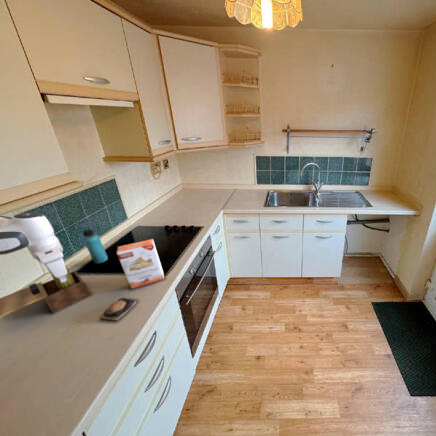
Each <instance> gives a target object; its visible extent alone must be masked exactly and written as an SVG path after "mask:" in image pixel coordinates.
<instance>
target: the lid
mask: <svg viewBox="0 0 436 436" xmlns="http://www.w3.org/2000/svg"><path fill="white" fill-rule="evenodd" d="M42 284H43V283H42V282H41V281H40V282H37V283H36V282H35V283H32V284H30V285H28V286H27V287H25V288H22V289H19V290H17V291H15V292H12V293H9V294H6V295H5V296H2V297H0V318H1V317H4V316H6V315H8V314H10V313H12V312H15V311H17V310H20V309H22V308H24V307H27V306H29V305H31V304H33V303H36V302H38V301H40V300H42V299H43V300H44V298H45V297H47V296H48V295H47V293H46V291H45V289H44V287H43V285H42Z"/></svg>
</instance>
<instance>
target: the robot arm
mask: <svg viewBox="0 0 436 436" xmlns="http://www.w3.org/2000/svg"><path fill="white" fill-rule="evenodd" d="M25 248H27V250H28V251H29V253H30V255H31V256H32V258H33V259H34V260H36V261H38V262H39V263H41V265H44V266H45V267H46V269H47V270H48V271H49V273H50V272H51V273H52V275H53V276H54V277H55V278H59V279H60V281H61V282H62V283H63V282H65V281H67V279H66V277H65V275H67V269H66V267H67V265H66V263H65V261H64V253H63V250H64V247H63V245H62V244H61V241H60V239H59V238H58V237H57V236H56V235H55V230H54V228H53V226H52V223H50V221H49V220H48V218H47V217H46V215H44V214H43V213H40V212H35V211H27V212H20V213H17V214H15V215H13V217H11V216H5V215H1V216H0V255H1V256H2V255H8V254H11V253H14V252H18V251H20V250H23V249H25ZM65 265H66V266H65ZM51 273H50V274H51ZM52 275H51V276H52Z"/></svg>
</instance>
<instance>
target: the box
mask: <svg viewBox="0 0 436 436" xmlns="http://www.w3.org/2000/svg"><path fill="white" fill-rule="evenodd" d="M70 274H71V275H72V277H73V279H74V280H75V282H76V284H74V285H72V286H70V287H67V288H65V289H63V290H59V288H58V286H57V284H56V282H55V280H54V279H50V280H48V281H46V282H44V283H42V285H43V287H44V289H45V291H46V293H47V295H48V296H47V297H45V298H43V300H44V302H45V303H46V305H47V306H48V308H49V310H50V311H51V312H52V314H54V313H56V312H59V311H60V310H63V309H65V308H66V307H69V306H70V305H72V304H75V303H77V302H79V301H81V300H83V299H85V298H87V297H89V296H91V293H90V291H89V289H88V288H87V286H86V283H85V282H84V280H83V279H82V278H81V276H80V275H79V273H78V272H77V271H76V270H74V271H71V272H70Z"/></svg>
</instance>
